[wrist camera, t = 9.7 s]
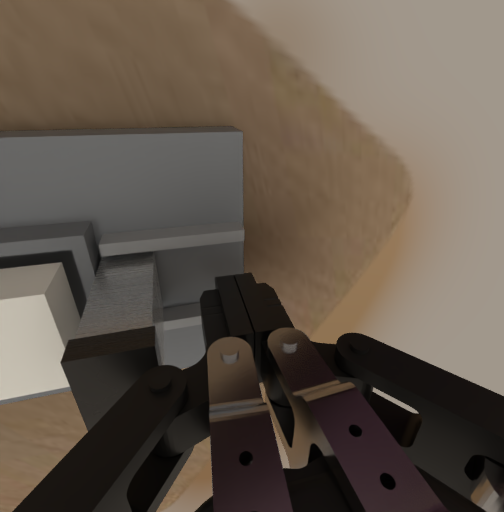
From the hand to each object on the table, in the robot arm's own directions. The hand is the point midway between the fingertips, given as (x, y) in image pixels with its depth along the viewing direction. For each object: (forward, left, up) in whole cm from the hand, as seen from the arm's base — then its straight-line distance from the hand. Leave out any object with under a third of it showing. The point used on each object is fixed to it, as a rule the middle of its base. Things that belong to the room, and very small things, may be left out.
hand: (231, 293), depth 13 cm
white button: (-8, 0, -1) cm, 8 cm away
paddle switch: (-4, 0, -2) cm, 4 cm away
